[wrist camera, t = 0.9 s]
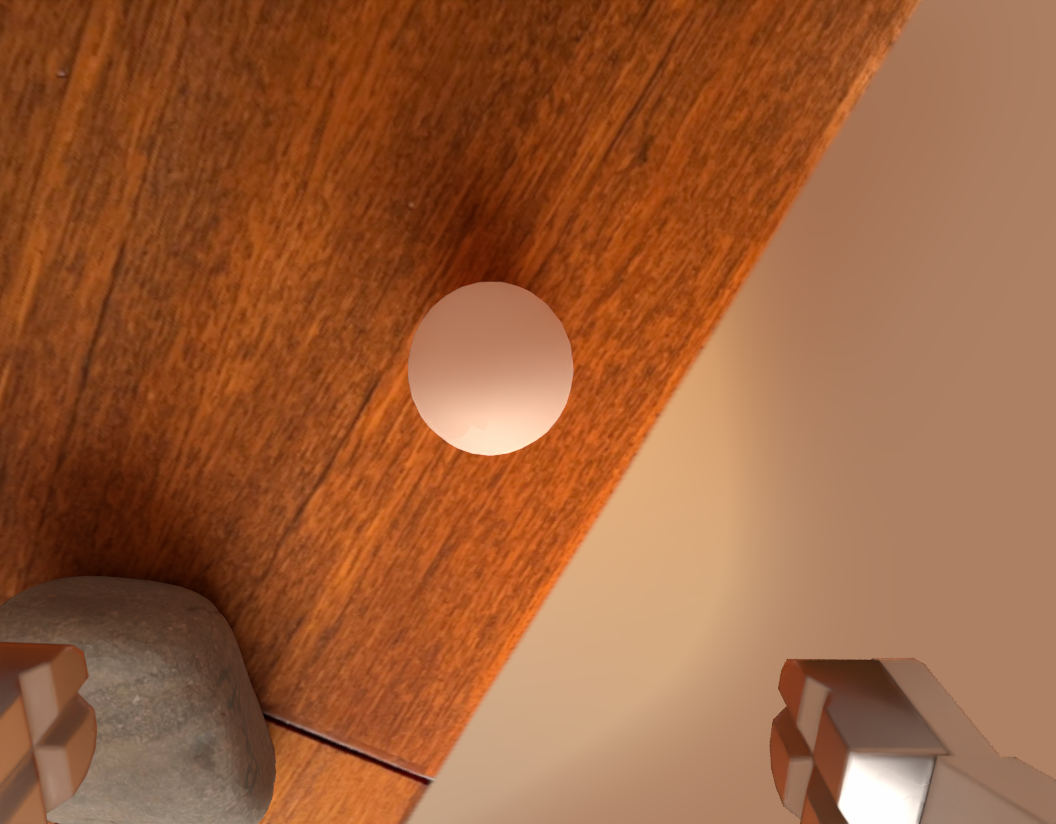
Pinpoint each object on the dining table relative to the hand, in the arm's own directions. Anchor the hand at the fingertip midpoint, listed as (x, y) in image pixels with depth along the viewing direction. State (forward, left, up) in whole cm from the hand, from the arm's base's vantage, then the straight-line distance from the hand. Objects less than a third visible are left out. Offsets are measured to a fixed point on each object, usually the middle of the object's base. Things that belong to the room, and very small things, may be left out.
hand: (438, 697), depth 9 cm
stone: (+5, -17, -17) cm, 25 cm away
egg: (0, 0, -17) cm, 17 cm away
